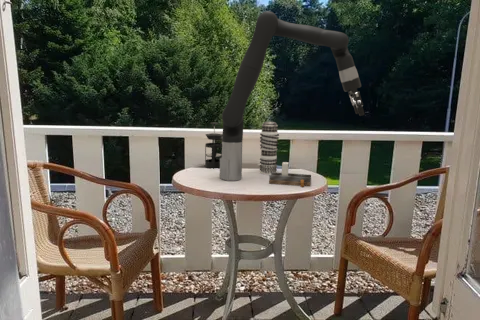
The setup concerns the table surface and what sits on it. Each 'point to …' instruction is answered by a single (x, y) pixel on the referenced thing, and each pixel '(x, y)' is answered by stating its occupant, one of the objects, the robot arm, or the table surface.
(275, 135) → the decorative candle
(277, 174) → the slider track
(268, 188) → the table surface
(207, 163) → the french press
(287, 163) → the slider tab
